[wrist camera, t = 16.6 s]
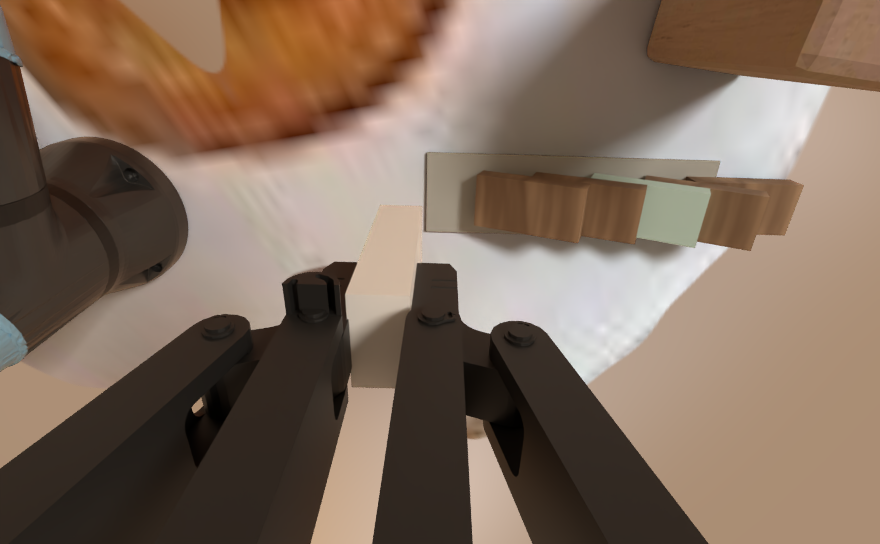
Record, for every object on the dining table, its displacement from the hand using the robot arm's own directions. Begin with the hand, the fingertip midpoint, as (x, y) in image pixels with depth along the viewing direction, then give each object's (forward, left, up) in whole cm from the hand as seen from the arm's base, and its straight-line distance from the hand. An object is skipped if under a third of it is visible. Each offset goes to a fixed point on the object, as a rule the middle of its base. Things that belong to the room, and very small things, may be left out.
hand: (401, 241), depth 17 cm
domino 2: (+10, -7, -28) cm, 31 cm away
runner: (+14, -7, -29) cm, 33 cm away
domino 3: (+21, -7, -28) cm, 36 cm away
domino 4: (+25, -7, -28) cm, 38 cm away
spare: (+16, -7, -28) cm, 33 cm away
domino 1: (+5, -7, -28) cm, 30 cm away
